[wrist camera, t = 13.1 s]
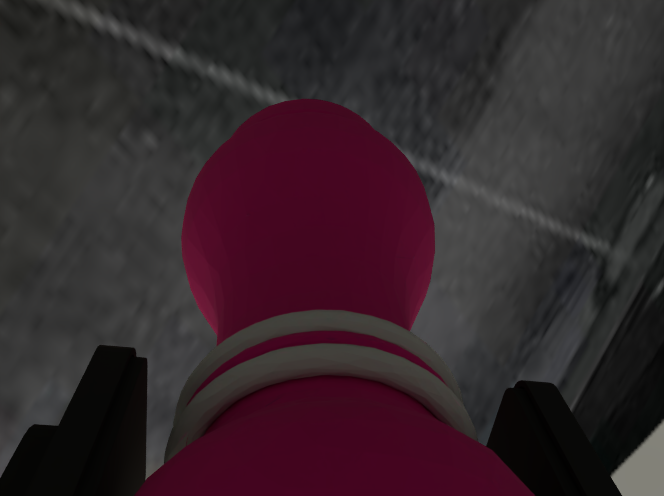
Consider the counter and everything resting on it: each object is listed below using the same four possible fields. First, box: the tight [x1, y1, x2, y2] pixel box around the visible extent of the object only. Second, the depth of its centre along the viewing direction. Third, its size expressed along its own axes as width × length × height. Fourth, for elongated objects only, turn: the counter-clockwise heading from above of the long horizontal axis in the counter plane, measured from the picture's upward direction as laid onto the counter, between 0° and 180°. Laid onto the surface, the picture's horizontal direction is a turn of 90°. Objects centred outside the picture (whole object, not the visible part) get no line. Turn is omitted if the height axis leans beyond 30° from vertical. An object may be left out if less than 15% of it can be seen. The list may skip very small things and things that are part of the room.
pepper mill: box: [134, 99, 535, 496], centre depth 13 cm, size 7×7×20 cm
